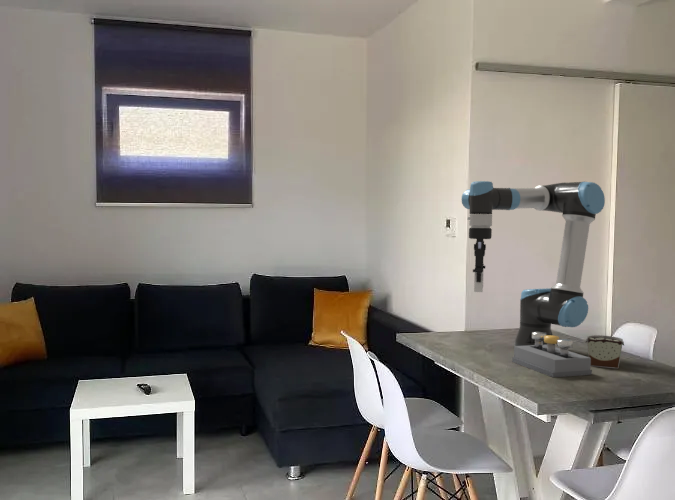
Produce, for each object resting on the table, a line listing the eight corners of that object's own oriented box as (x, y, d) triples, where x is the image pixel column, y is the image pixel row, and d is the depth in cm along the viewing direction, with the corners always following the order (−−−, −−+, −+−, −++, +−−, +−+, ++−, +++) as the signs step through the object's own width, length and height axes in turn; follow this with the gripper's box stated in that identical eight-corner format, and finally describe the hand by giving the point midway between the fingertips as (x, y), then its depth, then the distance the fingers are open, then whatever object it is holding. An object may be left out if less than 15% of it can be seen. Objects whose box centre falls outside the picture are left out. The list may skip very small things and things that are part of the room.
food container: (622, 365, 238) (623, 336, 237) (623, 368, 232) (624, 339, 232) (584, 362, 242) (585, 333, 241) (584, 365, 236) (585, 336, 236)
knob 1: (540, 348, 241) (540, 331, 240) (548, 350, 236) (549, 333, 236) (528, 348, 239) (529, 332, 239) (536, 351, 234) (537, 334, 234)
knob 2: (565, 356, 227) (566, 338, 227) (575, 359, 223) (575, 341, 222) (553, 357, 226) (554, 339, 225) (562, 360, 221) (563, 342, 221)
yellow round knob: (552, 352, 234) (553, 335, 234) (561, 355, 229) (562, 337, 229) (540, 352, 232) (541, 335, 232) (549, 355, 228) (550, 338, 228)
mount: (548, 359, 244) (548, 344, 244) (591, 374, 223) (592, 357, 222) (512, 361, 240) (512, 346, 239) (552, 377, 218) (553, 360, 218)
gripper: (470, 226, 244) (468, 285, 245) (467, 227, 220) (466, 293, 221) (491, 226, 242) (490, 286, 244) (491, 228, 218) (489, 294, 219)
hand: (478, 289), depth 232 cm, fingers open, 13 cm apart
